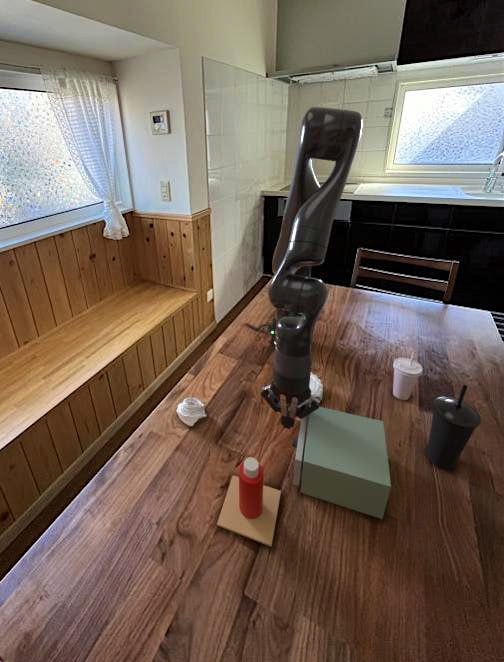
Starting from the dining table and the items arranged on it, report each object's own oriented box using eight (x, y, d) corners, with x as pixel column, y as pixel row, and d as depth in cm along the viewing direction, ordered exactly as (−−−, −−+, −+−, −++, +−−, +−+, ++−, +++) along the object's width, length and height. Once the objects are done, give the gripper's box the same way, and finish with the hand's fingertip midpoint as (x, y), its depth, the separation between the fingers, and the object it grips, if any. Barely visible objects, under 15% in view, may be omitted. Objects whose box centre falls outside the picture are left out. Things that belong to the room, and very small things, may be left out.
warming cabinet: (300, 492, 66) (303, 461, 63) (307, 433, 79) (310, 404, 75) (382, 519, 61) (391, 486, 58) (376, 451, 74) (383, 421, 70)
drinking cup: (411, 445, 75) (431, 374, 67) (443, 441, 75) (468, 370, 67) (436, 478, 68) (462, 403, 60) (471, 473, 68) (502, 398, 60)
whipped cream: (172, 417, 86) (168, 403, 84) (190, 400, 90) (186, 386, 88) (194, 432, 81) (191, 417, 79) (212, 413, 85) (209, 399, 83)
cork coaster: (217, 525, 62) (216, 524, 61) (232, 476, 70) (232, 474, 70) (271, 547, 58) (271, 545, 58) (281, 492, 67) (281, 490, 66)
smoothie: (418, 405, 85) (431, 360, 79) (391, 402, 86) (401, 358, 80) (409, 387, 90) (420, 344, 85) (384, 384, 92) (393, 342, 86)
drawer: (286, 482, 67) (288, 457, 65) (295, 429, 79) (297, 406, 76) (367, 508, 62) (373, 482, 59) (364, 447, 74) (369, 423, 71)
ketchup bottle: (234, 507, 64) (233, 464, 59) (248, 490, 67) (249, 448, 62) (252, 524, 61) (253, 481, 56) (267, 506, 64) (269, 463, 59)
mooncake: (291, 371, 99) (292, 361, 97) (330, 391, 91) (331, 380, 89) (267, 393, 91) (268, 382, 90) (307, 417, 83) (308, 406, 82)
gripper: (256, 369, 68) (255, 430, 75) (324, 384, 64) (316, 448, 71) (264, 348, 75) (262, 406, 82) (327, 360, 70) (319, 420, 77)
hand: (287, 425), depth 76 cm, fingers closed
